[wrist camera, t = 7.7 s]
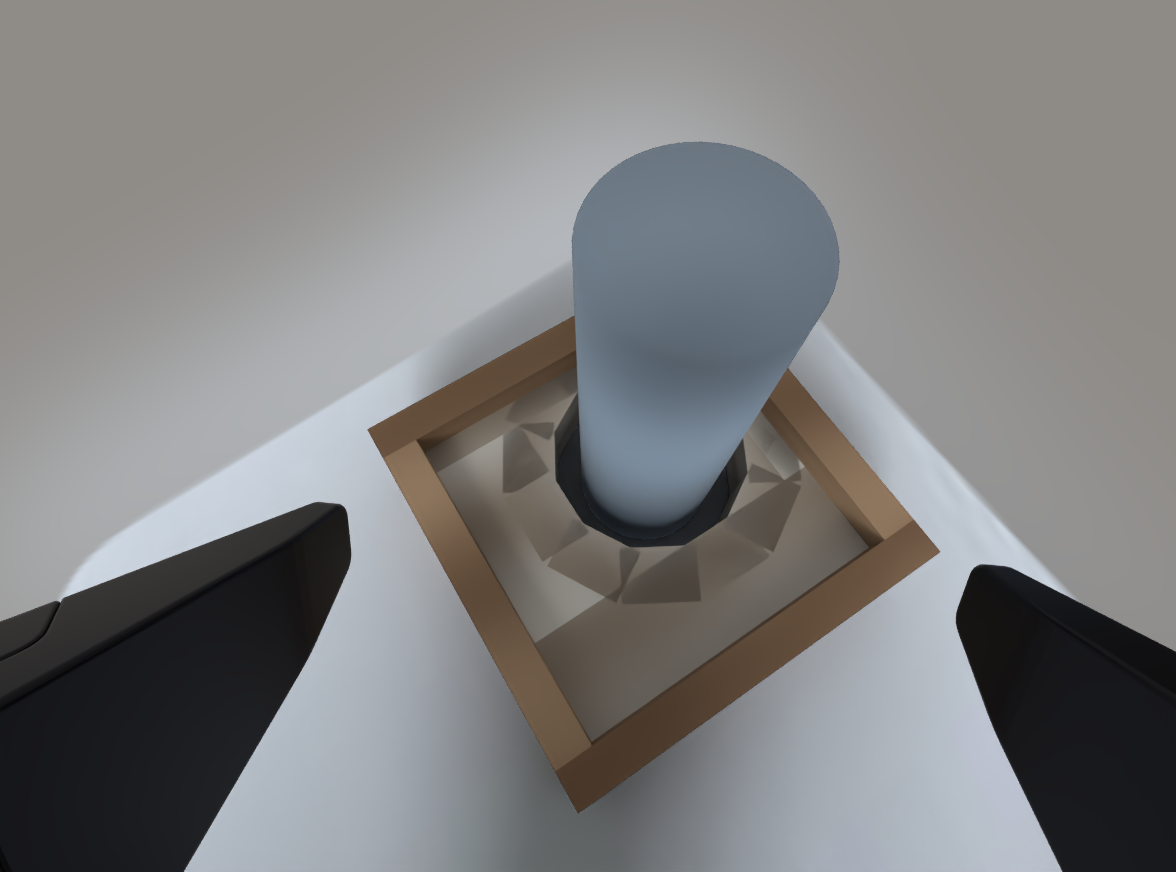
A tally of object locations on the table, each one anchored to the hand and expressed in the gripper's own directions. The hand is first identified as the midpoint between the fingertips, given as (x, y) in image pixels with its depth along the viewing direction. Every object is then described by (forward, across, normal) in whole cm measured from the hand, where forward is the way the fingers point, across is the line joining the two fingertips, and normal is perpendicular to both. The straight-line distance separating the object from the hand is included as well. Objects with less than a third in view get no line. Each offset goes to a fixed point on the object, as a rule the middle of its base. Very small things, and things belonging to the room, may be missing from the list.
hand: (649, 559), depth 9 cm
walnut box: (+10, 0, +5) cm, 11 cm away
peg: (+11, 0, +4) cm, 12 cm away
